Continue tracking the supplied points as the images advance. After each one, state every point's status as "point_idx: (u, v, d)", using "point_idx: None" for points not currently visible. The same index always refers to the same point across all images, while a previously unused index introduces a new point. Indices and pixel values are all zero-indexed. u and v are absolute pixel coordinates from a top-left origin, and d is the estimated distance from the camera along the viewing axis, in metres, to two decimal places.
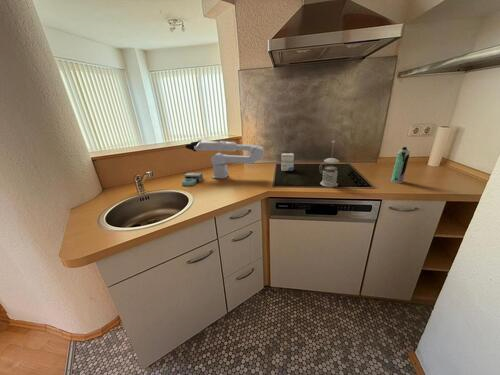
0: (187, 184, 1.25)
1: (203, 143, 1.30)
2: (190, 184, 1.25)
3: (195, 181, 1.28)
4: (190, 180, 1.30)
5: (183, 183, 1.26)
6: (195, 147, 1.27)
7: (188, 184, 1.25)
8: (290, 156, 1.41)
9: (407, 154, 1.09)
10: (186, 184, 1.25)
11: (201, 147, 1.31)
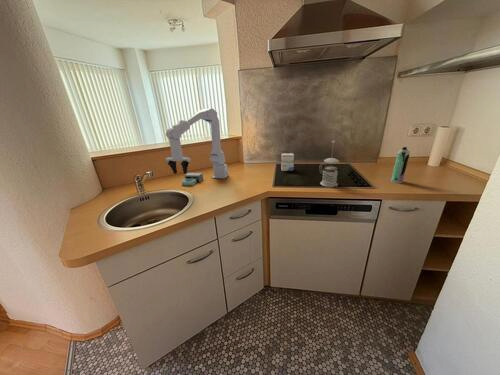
0: (187, 184, 1.25)
1: (178, 154, 1.11)
2: (190, 184, 1.25)
3: (195, 181, 1.28)
4: (190, 180, 1.30)
5: (183, 183, 1.26)
6: (189, 159, 1.13)
7: (188, 184, 1.25)
8: (290, 156, 1.41)
9: (407, 154, 1.09)
10: (186, 184, 1.25)
11: (182, 156, 1.14)
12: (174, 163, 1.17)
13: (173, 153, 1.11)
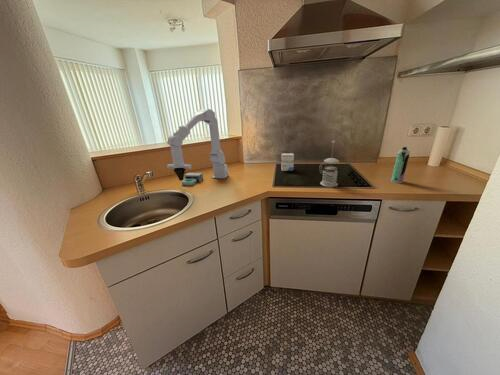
0: (187, 184, 1.25)
1: (179, 161, 1.13)
2: (190, 184, 1.25)
3: (195, 181, 1.28)
4: (190, 180, 1.30)
5: (183, 183, 1.26)
6: (190, 166, 1.14)
7: (188, 184, 1.25)
8: (290, 156, 1.41)
9: (407, 154, 1.09)
10: (186, 184, 1.25)
11: (183, 162, 1.15)
12: None
13: (174, 160, 1.12)
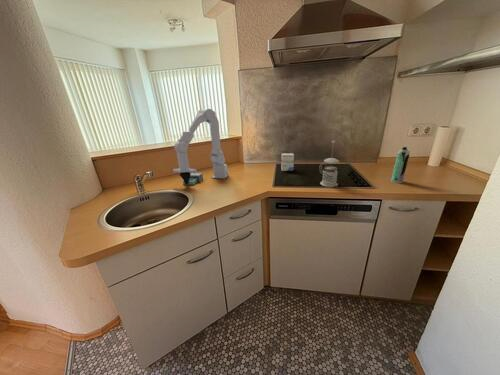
0: (188, 183, 1.26)
1: (185, 166, 1.19)
2: (191, 183, 1.26)
3: (196, 180, 1.30)
4: (191, 179, 1.31)
5: (184, 182, 1.27)
6: (195, 171, 1.20)
7: (189, 183, 1.26)
8: (290, 156, 1.41)
9: (407, 154, 1.09)
10: None
11: (188, 167, 1.21)
12: None
13: (180, 165, 1.18)
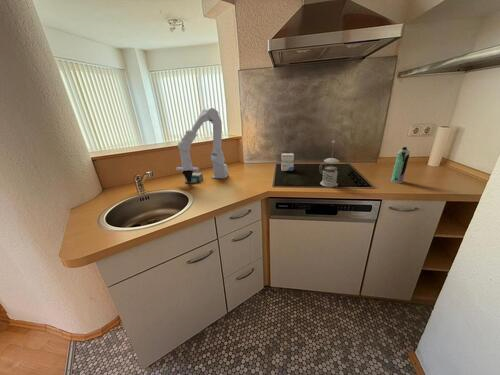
0: None
1: (188, 164, 1.22)
2: (193, 181, 1.29)
3: (198, 179, 1.32)
4: (193, 178, 1.34)
5: (186, 180, 1.29)
6: (198, 169, 1.23)
7: (191, 181, 1.29)
8: (290, 156, 1.41)
9: (407, 154, 1.09)
10: None
11: (191, 165, 1.24)
12: None
13: (183, 163, 1.21)
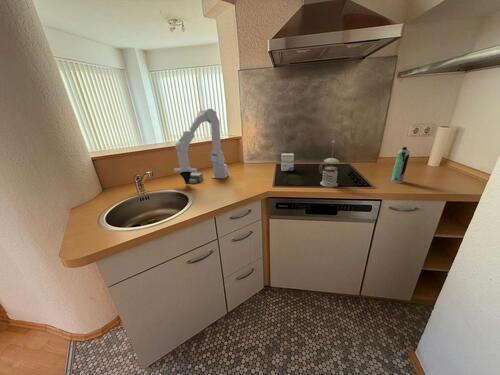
0: (190, 182, 1.29)
1: (186, 165, 1.19)
2: (193, 182, 1.29)
3: (198, 179, 1.32)
4: (193, 178, 1.34)
5: None
6: (196, 170, 1.21)
7: (191, 182, 1.29)
8: (290, 156, 1.41)
9: (407, 154, 1.09)
10: (189, 182, 1.29)
11: (189, 167, 1.22)
12: None
13: (181, 164, 1.19)
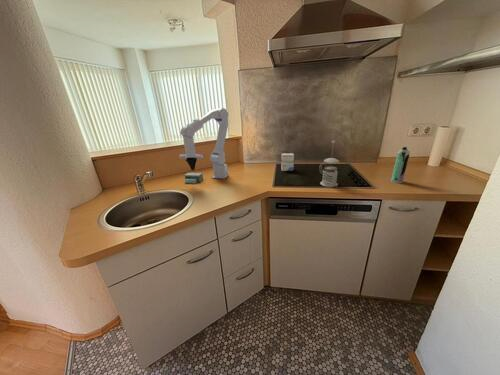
0: (190, 182, 1.29)
1: (192, 151, 1.17)
2: (193, 182, 1.29)
3: (198, 179, 1.32)
4: (193, 178, 1.34)
5: (186, 181, 1.29)
6: (202, 156, 1.19)
7: (191, 182, 1.29)
8: (290, 156, 1.41)
9: (407, 154, 1.09)
10: (189, 182, 1.29)
11: (195, 153, 1.20)
12: None
13: (187, 150, 1.17)
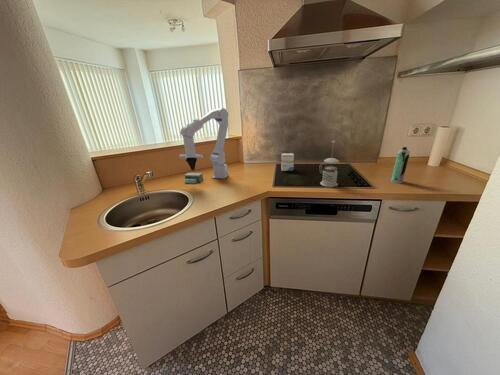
0: (190, 182, 1.29)
1: (192, 151, 1.17)
2: (193, 182, 1.29)
3: (198, 179, 1.32)
4: (193, 178, 1.34)
5: (186, 181, 1.29)
6: (202, 156, 1.19)
7: (191, 182, 1.29)
8: (290, 156, 1.41)
9: (407, 154, 1.09)
10: (189, 182, 1.29)
11: (195, 153, 1.20)
12: None
13: (187, 150, 1.17)
